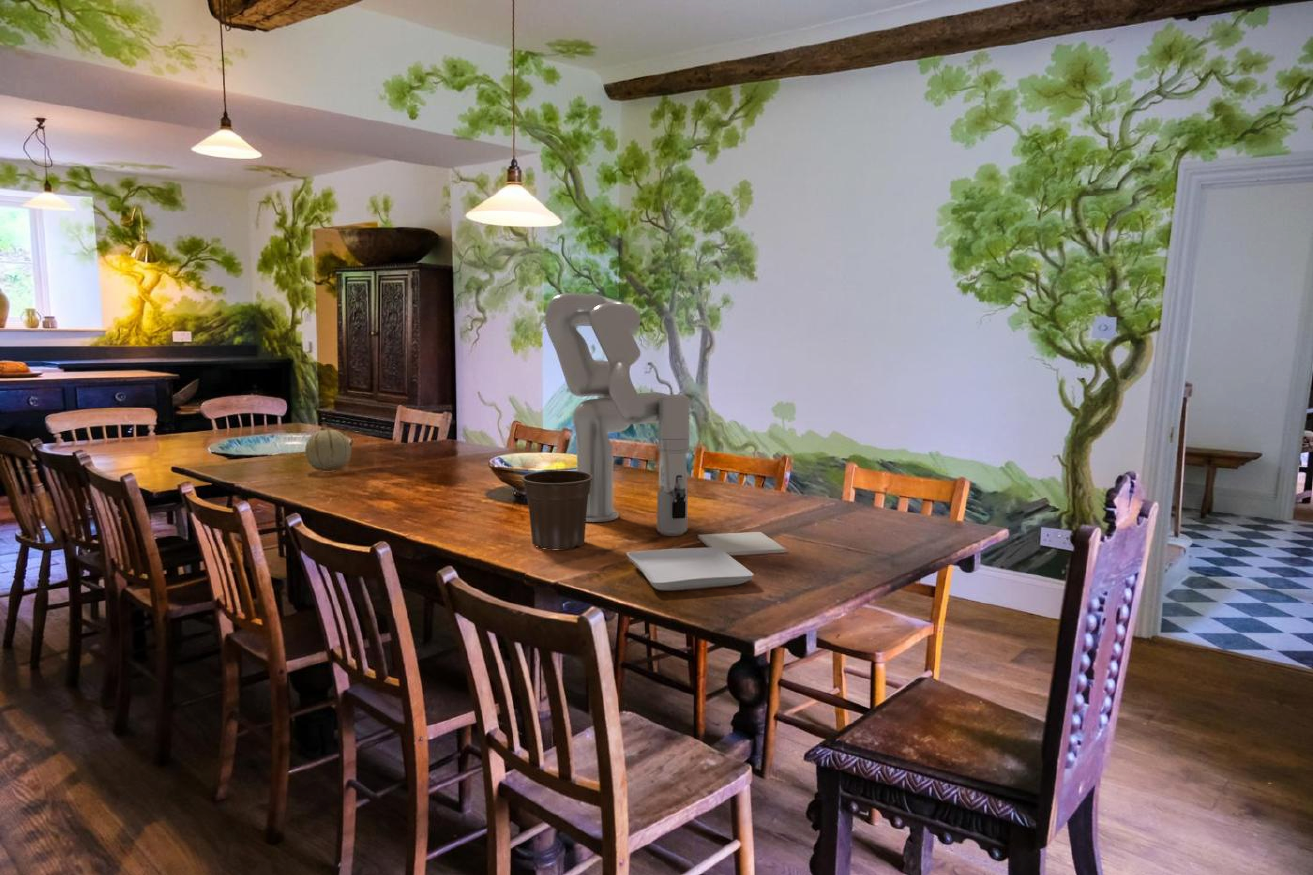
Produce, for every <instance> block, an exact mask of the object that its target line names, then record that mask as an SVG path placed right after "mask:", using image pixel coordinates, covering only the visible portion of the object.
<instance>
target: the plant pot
mask: <svg viewBox="0 0 1313 875" xmlns="http://www.w3.org/2000/svg"><path fill="white" fill-rule="evenodd" d="M592 479H593V476H592V475H591V474H589V473H585V472H580V471H577V470H568V469H566V470H561V469H560V470H544V471H536V472H535V471H534V472H530V473H526V474H523V475H522V476H521V481H522V482H523V485H524V486H523V487H524V492H525V496H526V500H527V506H528V516H529V523H530V524H529V525H530V533H531V542H532V545H533V544H534V545H535V546H538V548H541V547H542V548H546V549H565V550H570V548H572V549H575V547H578V546H579V547H581V546H583V545H584V544H585V538H586V537H585V536H586V525H587V524H586V523H587V522H586V514H587V502H588V494H589V493H590V483H591V480H592ZM534 545H533V546H534ZM535 546H534V547H535ZM539 546H540V547H539ZM542 548H541V549H542ZM546 549H545V550H546Z"/></svg>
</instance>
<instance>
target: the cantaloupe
mask: <svg viewBox="0 0 1313 875" xmlns="http://www.w3.org/2000/svg"><path fill="white" fill-rule="evenodd" d="M304 452H305V458H306V460H307V461H308V464H309V465H311V467H312V468H314V469H315V470H317V471H319V470H321V471H320V472H323V471H332V470H337V471H339V470H342V468H344V467H345V466H346V465H347V464H348V463H349V461H350V458H351V455H352V447H351V443H350V441H349V440H348V437H346V435H344V434H343V433H342V432H340V431H338V430H335V429H327V428H326V427H321V428H320V430H319V431H316V432H315V433H313V434H312V435H311V436H310V437H309V439H308V440H307V442H306V444H305V451H304Z"/></svg>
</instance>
